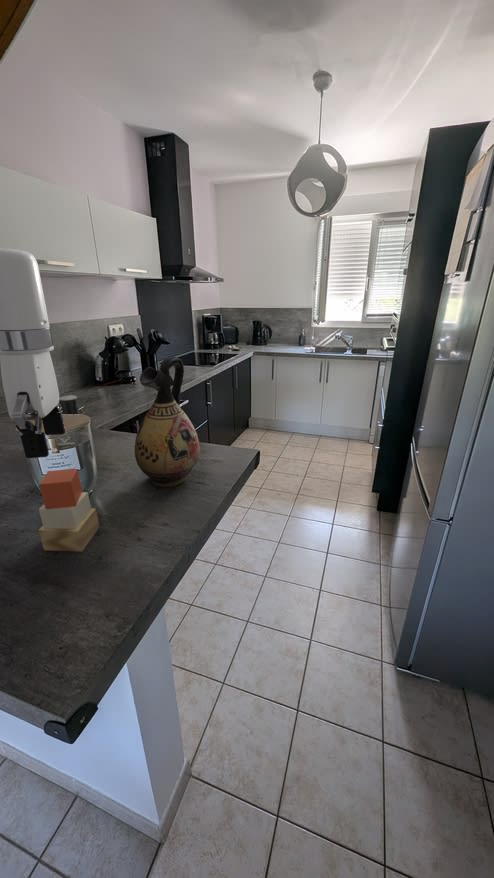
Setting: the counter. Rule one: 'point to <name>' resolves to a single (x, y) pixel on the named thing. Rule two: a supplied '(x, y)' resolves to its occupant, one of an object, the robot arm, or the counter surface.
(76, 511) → the middle block
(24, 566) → the counter surface
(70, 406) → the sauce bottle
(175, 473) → the ceramic jug
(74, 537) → the base block
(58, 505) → the toy cube
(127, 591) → the counter surface
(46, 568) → the counter surface
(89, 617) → the counter surface
